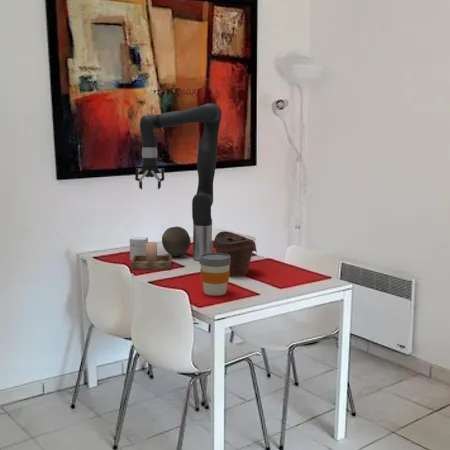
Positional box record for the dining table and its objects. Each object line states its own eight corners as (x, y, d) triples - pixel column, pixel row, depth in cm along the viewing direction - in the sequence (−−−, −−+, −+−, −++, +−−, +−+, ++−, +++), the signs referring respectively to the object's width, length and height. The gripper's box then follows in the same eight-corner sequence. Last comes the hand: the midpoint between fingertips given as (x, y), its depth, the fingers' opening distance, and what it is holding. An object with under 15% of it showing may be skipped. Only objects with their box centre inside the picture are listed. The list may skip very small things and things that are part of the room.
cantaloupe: (165, 252, 320) (164, 223, 317) (192, 253, 318) (192, 224, 315) (159, 259, 306) (159, 229, 303) (188, 260, 305) (188, 230, 302)
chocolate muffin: (253, 279, 272) (253, 238, 269) (208, 276, 276) (208, 236, 273) (259, 269, 290) (259, 231, 287) (217, 267, 294) (217, 229, 290)
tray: (171, 262, 300) (171, 255, 300) (170, 269, 286) (170, 262, 286) (133, 262, 299) (133, 255, 299) (131, 270, 285) (131, 262, 285)
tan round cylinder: (157, 262, 295) (157, 241, 294) (157, 265, 290) (156, 244, 288) (146, 262, 295) (146, 241, 293) (145, 265, 290) (145, 244, 288)
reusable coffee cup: (193, 293, 251) (193, 257, 249) (211, 286, 262) (211, 251, 259) (219, 298, 245) (219, 261, 242) (236, 291, 255) (237, 255, 252)
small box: (148, 257, 309) (148, 237, 307) (146, 260, 303) (145, 239, 301) (132, 257, 309) (132, 236, 307) (129, 260, 304) (129, 238, 302)
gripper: (164, 156, 311) (164, 188, 314) (135, 155, 310) (136, 188, 313) (163, 157, 304) (164, 190, 307) (134, 157, 303) (134, 190, 306)
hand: (150, 189), depth 310 cm, fingers open, 8 cm apart
